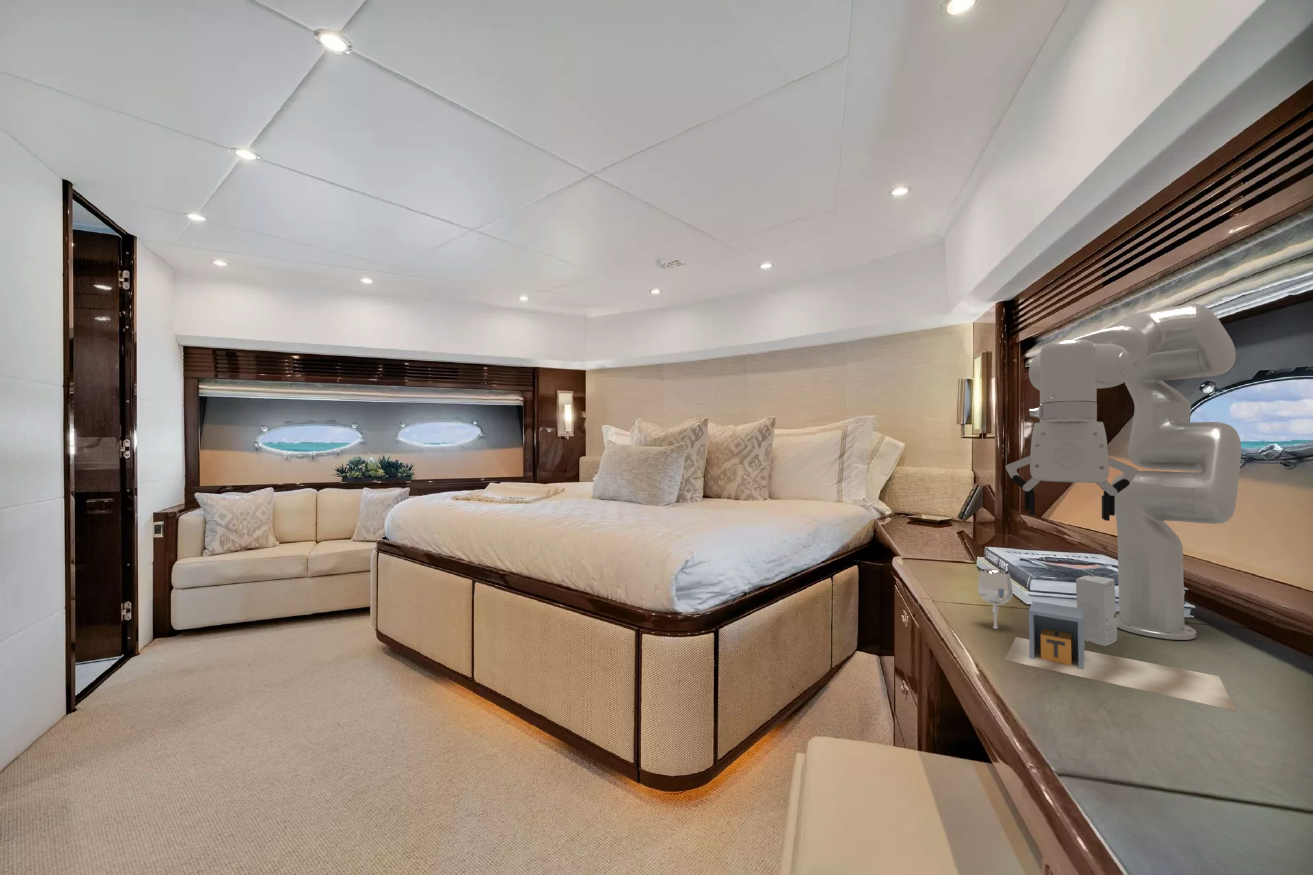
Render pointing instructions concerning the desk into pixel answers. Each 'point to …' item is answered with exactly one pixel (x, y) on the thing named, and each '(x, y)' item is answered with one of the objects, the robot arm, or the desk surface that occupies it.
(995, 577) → the wineglass
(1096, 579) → the skincare box
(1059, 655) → the letter cube
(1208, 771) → the desk surface
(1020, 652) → the board
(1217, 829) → the desk surface
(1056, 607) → the grey open-front cubby
